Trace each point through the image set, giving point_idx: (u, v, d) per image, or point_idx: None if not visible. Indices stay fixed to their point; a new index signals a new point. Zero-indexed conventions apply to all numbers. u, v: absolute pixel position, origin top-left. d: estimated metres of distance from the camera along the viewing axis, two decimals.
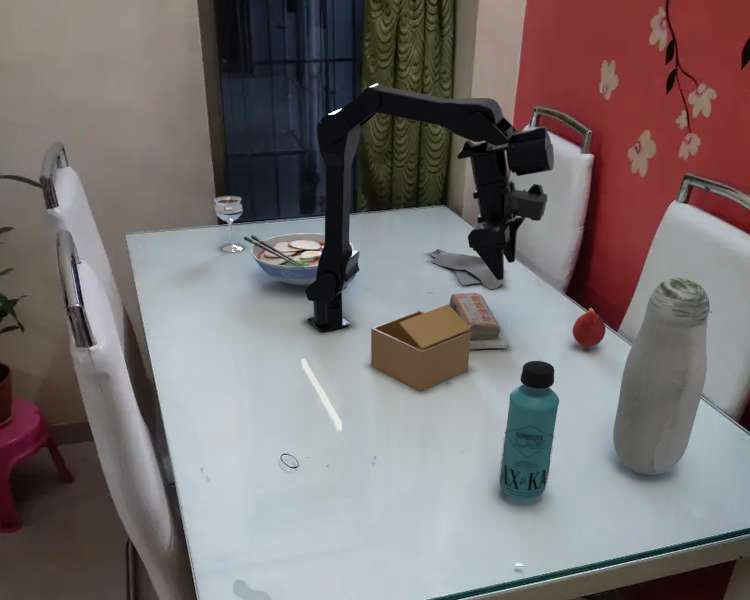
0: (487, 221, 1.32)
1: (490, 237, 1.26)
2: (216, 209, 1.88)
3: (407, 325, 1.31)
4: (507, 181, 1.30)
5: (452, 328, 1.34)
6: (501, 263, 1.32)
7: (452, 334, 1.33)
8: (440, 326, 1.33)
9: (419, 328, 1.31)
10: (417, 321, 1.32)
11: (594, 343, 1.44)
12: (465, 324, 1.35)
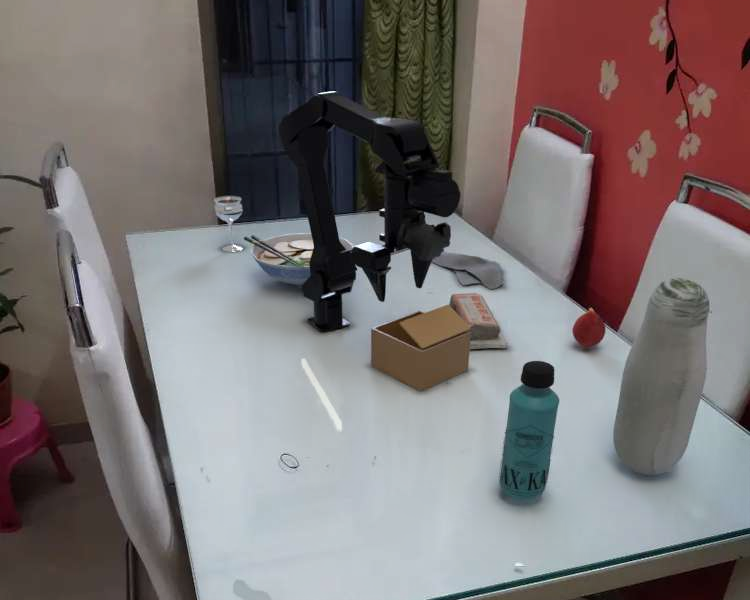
0: (385, 242, 1.32)
1: (364, 260, 1.27)
2: (216, 209, 1.88)
3: (407, 325, 1.31)
4: (411, 211, 1.27)
5: (452, 328, 1.34)
6: (380, 287, 1.32)
7: (452, 334, 1.33)
8: (440, 326, 1.33)
9: (419, 328, 1.31)
10: (417, 321, 1.32)
11: (594, 343, 1.44)
12: (465, 324, 1.35)
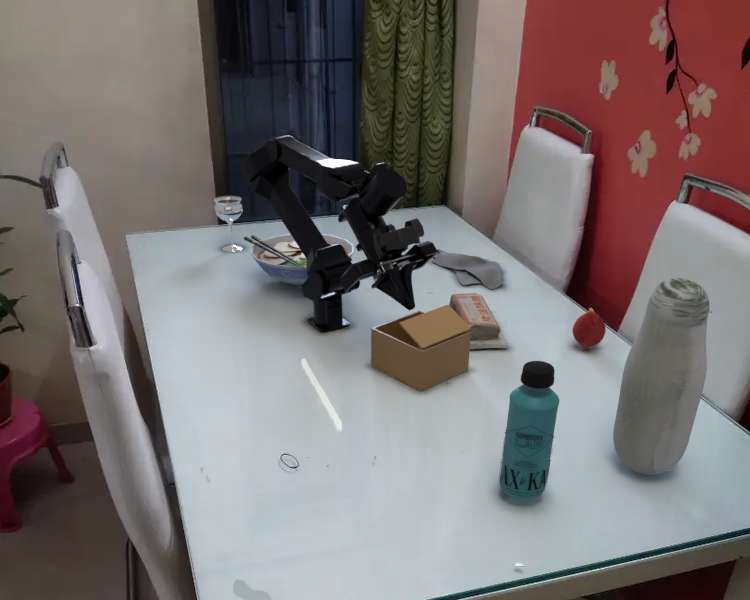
0: None
1: (350, 275, 1.30)
2: (216, 209, 1.88)
3: (407, 325, 1.31)
4: (377, 224, 1.34)
5: (452, 328, 1.34)
6: (401, 292, 1.35)
7: (452, 334, 1.33)
8: (440, 326, 1.33)
9: (419, 328, 1.31)
10: (417, 321, 1.32)
11: (594, 343, 1.44)
12: (465, 324, 1.35)
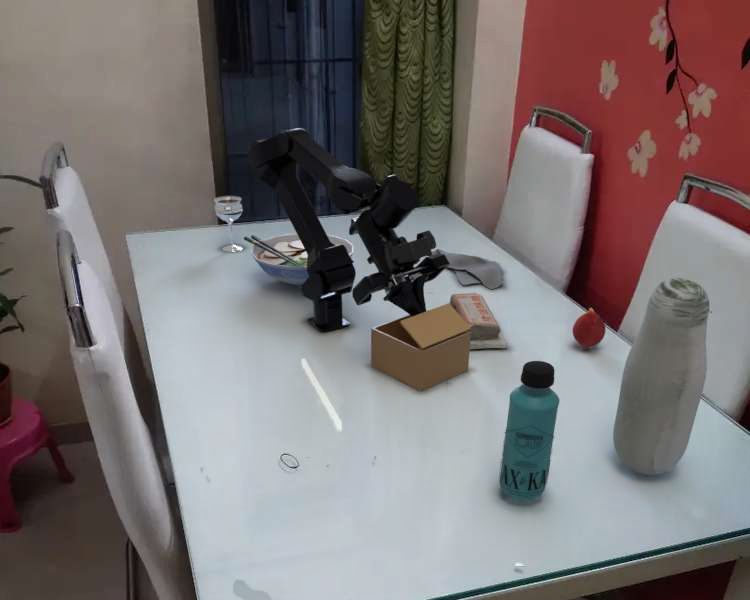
0: None
1: (362, 288, 1.29)
2: (216, 209, 1.88)
3: (408, 324, 1.31)
4: (388, 237, 1.33)
5: (452, 328, 1.34)
6: (413, 305, 1.33)
7: (452, 334, 1.33)
8: (440, 326, 1.33)
9: (419, 327, 1.31)
10: (417, 320, 1.32)
11: (594, 343, 1.44)
12: (465, 324, 1.35)
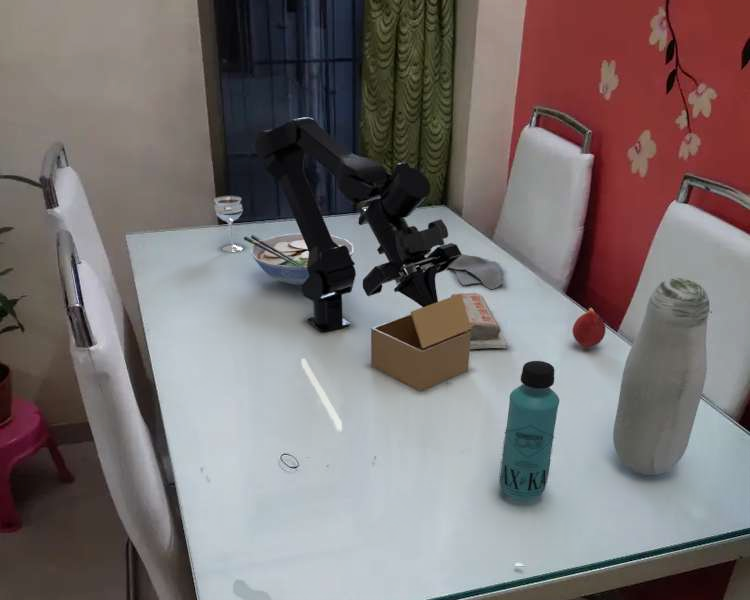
0: None
1: (373, 279, 1.26)
2: (216, 209, 1.88)
3: (417, 316, 1.28)
4: (399, 226, 1.30)
5: (455, 326, 1.33)
6: (425, 296, 1.30)
7: (453, 334, 1.32)
8: (446, 322, 1.32)
9: (427, 322, 1.29)
10: (427, 313, 1.29)
11: (594, 343, 1.44)
12: (468, 323, 1.35)
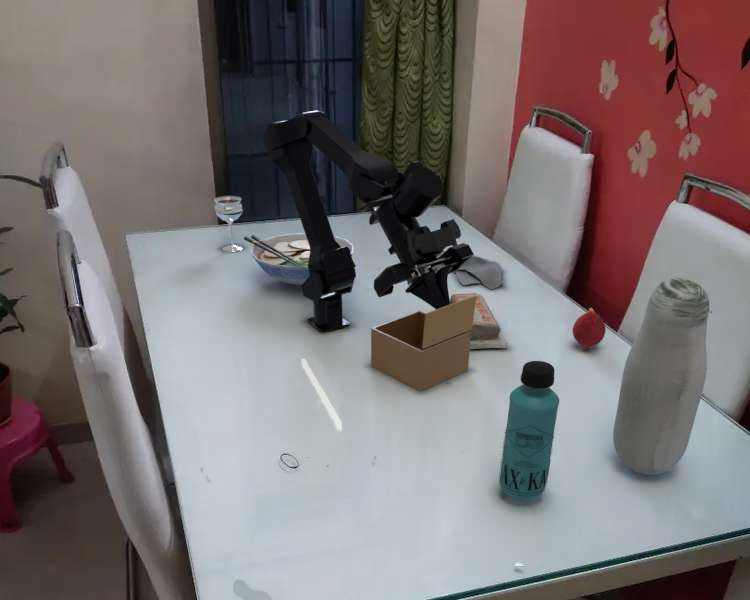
0: None
1: (384, 279, 1.24)
2: (216, 209, 1.88)
3: (430, 319, 1.26)
4: (411, 226, 1.28)
5: (459, 327, 1.32)
6: (437, 297, 1.28)
7: (454, 335, 1.32)
8: (452, 324, 1.31)
9: (436, 324, 1.28)
10: (439, 315, 1.27)
11: (594, 343, 1.44)
12: (470, 324, 1.34)
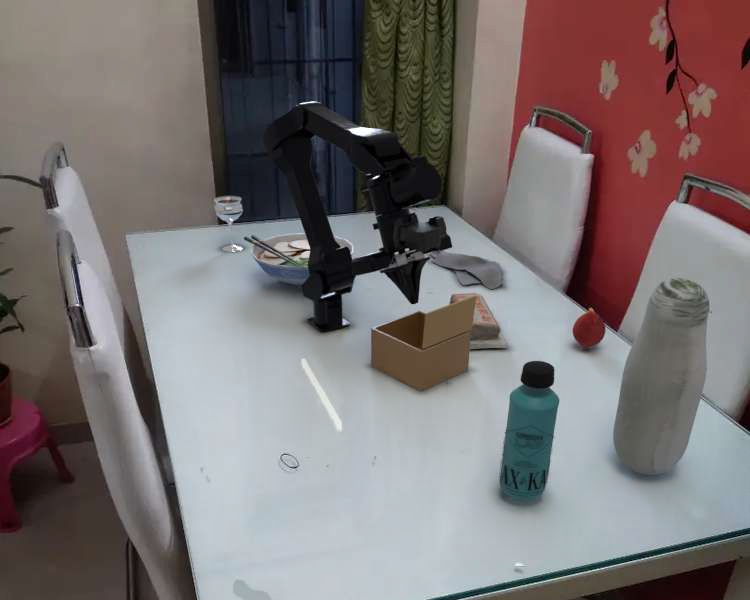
0: None
1: (363, 265, 1.27)
2: (216, 209, 1.88)
3: (430, 319, 1.26)
4: (400, 212, 1.28)
5: (459, 327, 1.32)
6: (408, 287, 1.33)
7: (454, 335, 1.32)
8: (452, 324, 1.31)
9: (436, 324, 1.28)
10: (439, 315, 1.27)
11: (594, 343, 1.44)
12: (470, 324, 1.34)
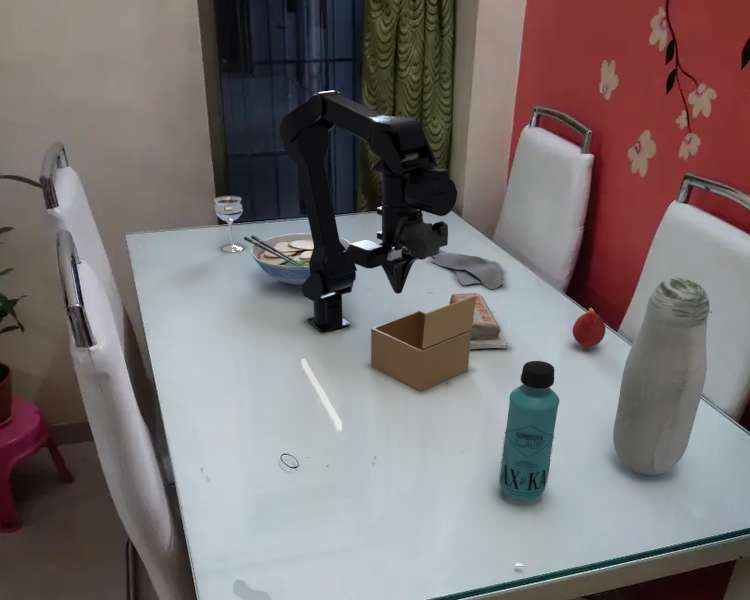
0: (382, 240, 1.31)
1: (360, 258, 1.27)
2: (216, 209, 1.88)
3: (430, 319, 1.26)
4: (408, 209, 1.27)
5: (459, 327, 1.32)
6: (396, 279, 1.34)
7: (454, 335, 1.32)
8: (452, 324, 1.31)
9: (436, 324, 1.28)
10: (439, 315, 1.27)
11: (594, 343, 1.44)
12: (470, 324, 1.34)
